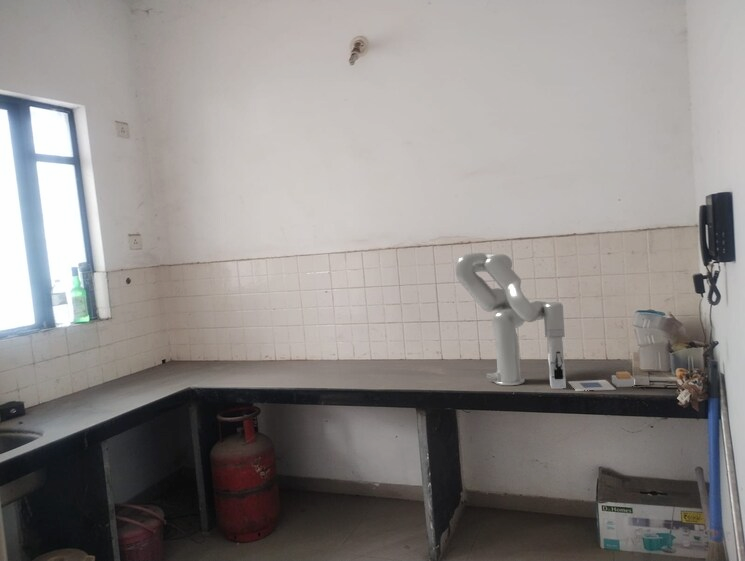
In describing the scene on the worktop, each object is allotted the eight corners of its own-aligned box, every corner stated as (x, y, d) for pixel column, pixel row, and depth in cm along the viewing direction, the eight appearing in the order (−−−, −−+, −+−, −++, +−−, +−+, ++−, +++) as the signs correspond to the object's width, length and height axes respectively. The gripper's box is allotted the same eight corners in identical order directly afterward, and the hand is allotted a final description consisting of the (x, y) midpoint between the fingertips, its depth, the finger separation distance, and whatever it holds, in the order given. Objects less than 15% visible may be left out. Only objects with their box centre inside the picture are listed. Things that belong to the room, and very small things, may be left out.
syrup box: (566, 388, 223) (564, 353, 222) (551, 389, 224) (548, 353, 223) (564, 385, 228) (562, 350, 227) (549, 385, 230) (547, 350, 229)
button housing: (617, 387, 220) (616, 379, 219) (612, 382, 227) (611, 375, 226) (635, 386, 219) (635, 378, 219) (630, 381, 226) (629, 374, 225)
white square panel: (575, 391, 218) (575, 390, 218) (568, 382, 232) (568, 381, 232) (615, 389, 216) (615, 388, 216) (605, 380, 230) (605, 379, 230)
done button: (619, 380, 221) (619, 374, 221) (616, 377, 225) (616, 371, 225) (630, 380, 220) (630, 373, 220) (627, 377, 224) (627, 371, 224)
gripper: (541, 330, 234) (544, 372, 235) (548, 337, 217) (551, 382, 218) (560, 329, 233) (562, 371, 234) (568, 336, 216) (571, 382, 217)
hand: (557, 376), depth 226 cm, fingers closed on syrup box, 5 cm apart
